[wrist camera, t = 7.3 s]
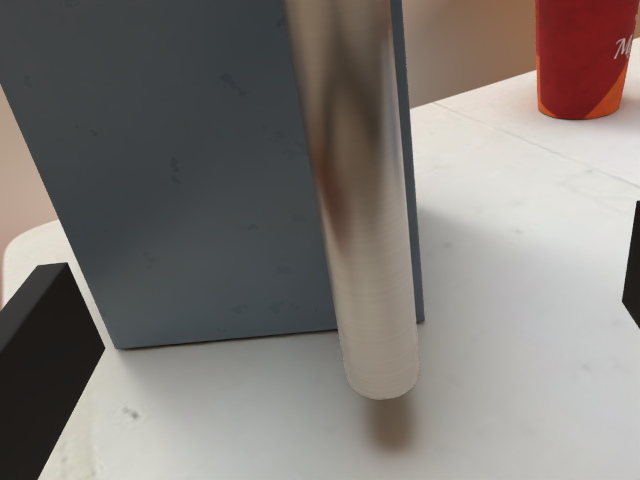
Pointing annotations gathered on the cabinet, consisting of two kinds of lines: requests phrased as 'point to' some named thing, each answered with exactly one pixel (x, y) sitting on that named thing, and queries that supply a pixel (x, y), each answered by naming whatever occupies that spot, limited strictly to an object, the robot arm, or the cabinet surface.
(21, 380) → the robot arm
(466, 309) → the cabinet surface
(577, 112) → the coffee cup
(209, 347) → the cabinet surface
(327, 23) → the freezer door
